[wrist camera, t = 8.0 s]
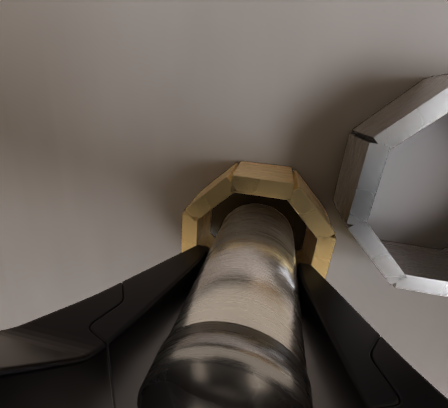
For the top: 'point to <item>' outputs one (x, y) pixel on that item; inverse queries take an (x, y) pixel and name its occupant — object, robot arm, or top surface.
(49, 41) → the top surface
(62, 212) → the top surface
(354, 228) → the wide steel socket
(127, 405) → the robot arm
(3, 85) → the top surface
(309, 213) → the small brass socket
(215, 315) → the round-tipped metal peg
